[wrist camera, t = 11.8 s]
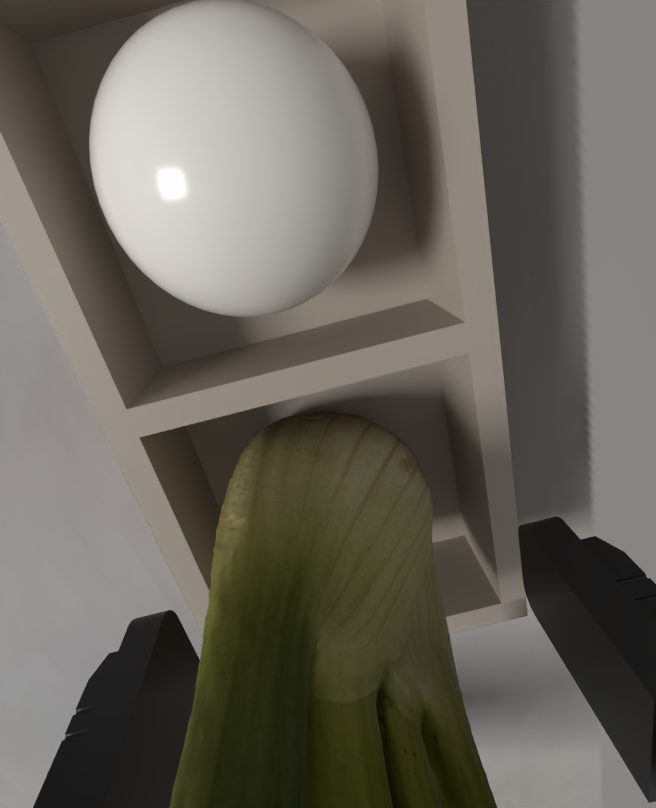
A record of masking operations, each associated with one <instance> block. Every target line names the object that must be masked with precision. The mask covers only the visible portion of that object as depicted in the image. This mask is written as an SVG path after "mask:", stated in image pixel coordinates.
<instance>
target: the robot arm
mask: <svg viewBox="0 0 656 808" xmlns="http://www.w3.org/2000/svg"><path fill="white" fill-rule="evenodd" d="M518 537H519V547H520V557H521V567H522V577H523V584H524V589H525V592H526V596H527V598H528V601H529V604H530V606H531V608H532V610H533V612H534V614H535V616H536V617H537V619H538V621H539V622H540V624H541V626H542V627H543V629H544V631H545V632H546V634H547V636H548V637H549V639H550V641H551V642H552V644H553V645H554V647H555V649H556V650H557V652H558V654H559V655H560V657H561V659H562V660H563V662H564V664H565V665H566V667H567V669H568V670H569V672H570V673H571V675H572V677H573V678H574V680H575V682H576V683H577V685H578V687H579V688H580V690H581V692H582V693H583V695H584V696H585V698H586V700H587V701H588V703H589V705H590V706H591V708H592V710H593V711H594V713H595V715H596V716H597V718H598V720H599V721H600V723H601V724H602V726H603V728H604V729H605V731H606V733H607V734H608V736H609V738H610V739H611V741H612V742H613V744H614V746H615V748H616V749H617V751H618V752H619V754H620V756H621V757H622V759H623V761H624V762H625V764H626V766H627V767H628V769H629V771H630V772H631V774H632V775H633V777H634V779H635V780H636V782H637V784H638V785H639V787H640V789H641V790H642V792H643V793H644V795H645V797H646V798H647V800H648V802H649V803H650V802H654V801H656V584H655V583H654V582H653V581H652V580H651V579H650V578H649V579H648V578H647V577H646V574H645V573H644V572H643V571H642V570H641V569H640V568H639V567H638V566H637V565H636V564H635V563H634V562H633V561H632V560H631V559H630V558H629V556H628V555H627V554H626V553H625V552H623V551H621V550H620V549H618V548H616V547H614V546H612V545H610V544H609V543H607V542H605V541H603V540H601V539H599V538H597V537H596V536H594V537H590V538H586V539H582V540H580V539H579V538H578V536H577V535H576V534H575V533H574V532H573V531H572V530H571V529H570V527H569V526H568V525H567V524H566V523H565V522H564V521H563V520H562V519H561V518H559V517H552V518H548V519H544V520H540V521H536V522H532V523H528V524H524V525H520V526H519V528H518ZM199 662H200V660H199V658H198V656H197V654H196V652H195V650H194V648H193V646H192V644H191V642H190V640H189V638H188V636H187V634H186V632H185V630H184V628H183V626H182V624H181V622H180V620H179V618H178V616H177V615H176V613H175V612H174V611H172V610H169V611H165V612H160V613H156V614H152V615H148V616H144V617H140V618H136V619H134V620H132V621H131V623H130V624H129V626H128V628H127V631H126V633H125V636H124V638H123V641H122V644H121V646H120V649H119V651H117V652H113V653H109V654H108V656H107V657H106V658H105V659H104V661H103V662H102V663H101V665H100V666H99V667H98V669H97V670H96V671H95V672H94V674H93V675H92V676H91V678H90V679H89V680H88V683H87V685H86V687H85V689H84V692H83V694H82V696H81V699H80V701H79V703H78V705H77V708H76V715H73V717H72V719H71V722H70V724H69V726H68V728H67V731H66V733H65V736H66V738H65V740H63V741H62V742H61V745H60V747H59V749H58V751H57V754H56V756H55V758H54V761H53V763H52V765H51V767H50V770H49V772H48V774H47V777H46V779H45V781H44V784H43V786H42V788H41V790H40V793H39V795H38V797H37V800H36V802H35V804H34V807H33V808H170V804H171V797H172V791H173V786H174V782H175V779H176V775H177V771H178V768H179V763H180V759H181V755H182V751H183V748H184V743H185V737H186V733H187V728H188V723H189V719H190V716H191V712H192V708H193V703H194V696H195V691H196V681H197V675H198V667H199Z"/></svg>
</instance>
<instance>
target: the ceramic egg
mask: <svg viewBox="0 0 656 808" xmlns="http://www.w3.org/2000/svg"><path fill="white" fill-rule="evenodd" d="M89 150H90V165H91V171H92V177H93V183H94V187H95V190H96V193H97V197H98V200H99V204H100V206H101V209H102V211H103V213H104V216H105V218H106V220H107V223H108V225H109V226H110V228H111V230H112V232H113V233H114V235H115V237H116V239H117V241H118V242H119V244H120V245H121V247H122V248H123V249H124V251H125V252H126V253H127V255H128V256H129V258H130V259H131V260H132V261H133V262H134V263H135V264H136V266H137V267H138V268H139V269H140V270H141V271H142V272H143V273H144V274H145V275H146V276H147V277H148V278H150V279H151V280H152V281H153V282H154V283H155V284H156V285H158V286H159V287H160V288H162V289H163V290H165V291H166V292H168V293H169V294H171V295H172V296H174V297H176V298H178V299H179V300H181V301H183V302H185V303H187V304H189V305H192V306H194V307H197V308H199V309H202V310H205V311H208V312H213V313H217V314H221V315H228V316H236V317H257V316H264V315H271V314H276V313H279V312H283V311H286V310H290V309H292V308H294V307H297V306H299V305H301V304H304V303H305V302H307V301H309V300H310V299H312V298H314V297H315V296H317V295H319V294H320V293H321V292H322V291H324V290H325V289H326V288H328V287H329V286H330V285H331V284H332V283H333V282H334V281H335V280H336V279H337V278H338V277H339V276H340V275H341V274H342V273H343V272H344V271H345V269H346V268H347V267H348V265H349V264H350V263H351V261H352V260H353V259H354V257H355V255H356V254H357V252H358V250H359V248H360V246H361V245H362V243H363V241H364V238H365V236H366V234H367V231H368V229H369V226H370V223H371V220H372V216H373V212H374V209H375V204H376V197H377V191H378V172H379V167H378V154H377V145H376V140H375V135H374V130H373V126H372V123H371V120H370V116H369V113H368V110H367V107H366V104H365V102H364V100H363V98H362V96H361V94H360V91H359V89H358V87H357V85H356V83H355V82H354V80H353V78H352V77H351V75H350V74H349V72H348V70H347V69H346V67H345V66H344V64H343V63H342V62H341V61H340V60H339V58H338V57H337V56H336V55H335V53H334V52H333V51H332V50H331V49H330V48H329V47H328V46H327V45H326V44H325V43H324V42H323V41H322V40H321V39H320V38H319V37H318V36H317V35H316V34H315V33H313V32H312V31H311V30H309V29H308V28H306V27H305V26H304V25H302V24H301V23H300V22H298V21H297V20H295V19H293V18H291V17H289V16H287V15H285V14H283V13H282V12H280V11H278V10H275V9H272V8H269V7H266V6H264V5H261V4H258V3H253V2H247V1H242V0H202V1H194V2H190V3H187V4H184V5H181V6H177V7H174V8H172V9H170V10H168V11H166V12H164V13H162V14H160V15H158V16H156V17H154V18H153V19H152V20H150V21H149V22H148V23H146V24H145V25H144V26H142V27H141V28H139V29H138V30H137V31H136V32H135V33H134V34H133V35H132V36H131V37H130V38H129V39H128V40H127V41H126V42H125V43H124V44H123V46H122V47H121V49H120V50H119V51H118V53H117V54H116V56H115V57H114V58H113V60H112V61H111V63H110V65H109V67H108V69H107V71H106V73H105V75H104V77H103V79H102V81H101V84H100V87H99V90H98V92H97V95H96V98H95V102H94V107H93V112H92V117H91V123H90V137H89Z"/></svg>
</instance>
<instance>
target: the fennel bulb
mask: <svg viewBox="0 0 656 808" xmlns="http://www.w3.org/2000/svg"><path fill="white" fill-rule="evenodd" d="M235 468H236V470H235V472H234V473H233V476H232V477H231V479H230V481H229V485H228V489H227V494H226V496H225V501H224V503H223V505H222V509H221V514H220V518H219V524H218V527H217V530H216V540H215V546H214V548H213V551H214V557H213V561H212V569H211V587H210V590H209V594H208V598H209V604H208V609H207V615H206V617H205V625H204V631H203V645H202V650H201V658H200V662H199V667H198V675H197V681H196V691H195V696H194V703H193V708H192V712H191V716H190V719H189V723H188V728H187V733H186V737H185V743H184V748H183V751H182V755H181V759H180V763H179V768H178V771H177V775H176V779H175V782H174V786H173V791H172V797H171V804H170V808H497V806H496V803H495V800H494V797H493V794H492V792H491V789H490V787H489V783H488V780H487V776H486V773H485V771H484V769H483V766H482V763H481V760H480V757H479V754H478V751H477V747H476V744H475V742H474V738H473V735H472V732H471V728H470V724H469V721H468V718H467V715H466V711H465V708H464V704H463V698H462V693H461V691H460V687H459V684H458V678H457V674H456V667H455V663H454V658H453V653H452V648H451V642H450V635H449V630H448V625H447V620H446V615H445V611H444V607H443V603H442V598H441V592H440V588H439V584H438V580H437V574H436V568H435V563H434V557H433V542H432V526H433V522H432V521H433V502H432V497H431V492H430V488H429V484H428V481H427V479H426V476H425V473H424V471H423V469H422V467H421V465H420V463H419V461H418V460H417V458H416V456H415V455H414V453H413V452H412V450H411V449H410V448H409V447H408V446H407V445H406V444H405V443H404V442H402V441H401V440H400V439H399V438H397V437H396V436H395V435H394V434H393V433H391V432H390V431H389V430H387V429H386V428H384V427H382V426H381V425H379V424H377V423H374V422H373V421H371V420H369V419H367V418H364V417H361V416H358V415H353V414H345V413H340V412H337V411H314V412H310V413H301V414H298V415H293V416H288V417H286V418H282V419H279V420H278V421H276V422H273V423H272V424H270V425H269V426H268V427H266V428H265V429H264V430H262V431H261V432H259V433H258V434H256V435H254V437H253V438H252V439H251V441H250V442H249V444H248V445H247V447H246V448H245V449H244V450H243V453H242V454H241V456H240V460H239V461H238V464H237V465H236V467H235Z"/></svg>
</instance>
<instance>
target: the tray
mask: <svg viewBox="0 0 656 808" xmlns="http://www.w3.org/2000/svg"><path fill="white" fill-rule="evenodd" d="M194 1H202V0H0V222H1V224H2V226H3V228H4V230H5V232H6V234H7V236H8V239H9V241H10V243H11V245H12V247H13V249H14V251H15V253H16V255H17V257H18V259H19V261H20V263H21V265H22V267H23V269H24V271H25V273H26V276H27V278H28V280H29V282H30V284H31V286H32V288H33V290H34V292H35V294H36V296H37V298H38V300H39V302H40V304H41V306H42V308H43V310H44V312H45V315H46V317H47V319H48V321H49V323H50V325H51V327H52V329H53V331H54V333H55V335H56V337H57V339H58V341H59V343H60V345H61V347H62V349H63V352H64V354H65V356H66V358H67V360H68V362H69V364H70V366H71V368H72V370H73V372H74V374H75V376H76V378H77V380H78V382H79V384H80V386H81V388H82V391H83V393H84V395H85V397H86V399H87V401H88V403H89V405H90V407H91V409H92V411H93V413H94V415H95V417H96V419H97V421H98V423H99V425H100V427H101V430H102V432H103V434H104V436H105V438H106V440H107V442H108V444H109V446H110V448H111V450H112V452H113V454H114V456H115V458H116V460H117V462H118V464H119V467H120V469H121V471H122V473H123V475H124V477H125V479H126V481H127V483H128V485H129V487H130V489H131V491H132V493H133V495H134V497H135V499H136V501H137V503H138V506H139V508H140V510H141V512H142V514H143V516H144V518H145V520H146V522H147V524H148V526H149V528H150V530H151V532H152V534H153V536H154V538H155V540H156V543H157V545H158V547H159V549H160V551H161V553H162V555H163V557H164V559H165V561H166V563H167V565H168V567H169V569H170V571H171V573H172V575H173V577H174V579H175V582H176V584H177V586H178V588H179V590H180V592H181V594H182V596H183V598H184V600H185V602H186V604H187V606H188V608H189V610H190V612H191V614H192V616H193V619H194V621H195V623H196V625H197V627H198V629H199V631H200V633H201V635H202V637H203V631H204V625H205V617H206V615H207V609H208V604H209V598H208V594H209V590H210V587H211V569H212V561H213V557H214V551H213V548H214V546H215V540H216V530H217V527H218V524H219V518H220V514H221V509H222V505H223V503H224V501H225V496H226V494H227V489H228V485H229V481H230V479H231V477H232V476H233V473H234V472H235V470H236V468H235V467H236V465H237V464H238V461H239V460H240V456H241V454H242V453H243V450H244V449H245V448H246V447H247V445H248V444H249V442H250V441H251V439H252V438H253V437H254V435H256V434H258V433H259V432H261V431H262V430H264V429H265V428H266V427H268V426H269V425H270V424H272V423H273V422H276V421H278V420H279V419H282V418H286V417H288V416H293V415H298V414H301V413H310V412H314V411H337V412H340V413H345V414H353V415H358V416H361V417H364V418H367V419H369V420H371V421H373V422H374V423H377V424H379V425H381V426H382V427H384V428H386V429H387V430H389V431H390V432H391V433H393V434H394V435H395V436H396V437H397V438H399V439H400V440H401V441H402V442H404V443H405V444H406V445H407V446H408V447H409V448H410V449H411V450H412V452H413V453H414V455H415V456H416V458H417V460H418V461H419V463H420V465H421V467H422V469H423V471H424V473H425V476H426V479H427V481H428V484H429V488H430V492H431V497H432V502H433V521H432V522H433V526H432V542H433V557H434V563H435V568H436V574H437V580H438V584H439V588H440V592H441V598H442V603H443V607H444V611H445V615H446V620H447V625H448V630H449V634H453V633H457V632H461V631H466V630H470V629H474V628H478V627H482V626H486V625H491V624H495V623H499V622H503V621H507V620H511V619H516V618H520V617H524V616H528V615H527V605H526V595H525V589H524V584H523V577H522V567H521V557H520V547H519V537H518V528H519V525H518V515H517V505H516V495H515V485H514V475H513V465H512V455H511V445H510V435H509V425H508V415H507V405H506V395H505V385H504V375H503V365H502V355H501V345H500V335H499V325H498V315H497V305H496V295H495V285H494V275H493V265H492V255H491V245H490V235H489V225H488V215H487V206H486V196H485V186H484V176H483V166H482V156H481V146H480V136H479V126H478V116H477V106H476V96H475V86H474V76H473V66H472V56H471V46H470V36H469V26H468V16H467V6H466V0H242V1H247V2H253V3H258V4H261V5H264V6H266V7H269V8H272V9H275V10H278V11H280V12H282V13H283V14H285V15H287V16H289V17H291V18H293V19H295V20H297V21H298V22H300V23H301V24H302V25H304V26H305V27H306V28H308V29H309V30H311V31H312V32H313V33H315V34H316V35H317V36H318V37H319V38H320V39H321V40H322V41H323V42H324V43H325V44H326V45H327V46H328V47H329V48H330V49H331V50H332V51H333V52H334V53H335V55H336V56H337V57H338V58H339V60H340V61H341V62H342V63H343V64H344V66H345V67H346V69H347V70H348V72H349V74H350V75H351V77H352V78H353V80H354V82H355V83H356V85H357V87H358V89H359V91H360V94H361V96H362V98H363V100H364V102H365V104H366V107H367V110H368V113H369V116H370V120H371V123H372V126H373V130H374V135H375V140H376V145H377V154H378V167H379V172H378V191H377V197H376V204H375V209H374V212H373V216H372V220H371V223H370V226H369V229H368V231H367V234H366V236H365V238H364V241H363V243H362V245H361V246H360V248H359V250H358V252H357V254H356V255H355V257H354V259H353V260H352V261H351V263H350V264H349V265H348V267H347V268H346V269H345V271H344V272H343V273H342V274H341V275H340V276H339V277H338V278H337V279H336V280H335V281H334V282H333V283H332V284H331V285H330V286H329V287H328V288H326V289H325V290H324V291H322V292H321V293H320V294H319V295H317V296H315V297H314V298H312V299H310V300H309V301H307V302H305V303H304V304H301V305H299V306H297V307H294V308H292V309H290V310H286V311H283V312H279V313H276V314H271V315H264V316H257V317H236V316H228V315H221V314H217V313H213V312H208V311H205V310H202V309H199V308H197V307H194V306H192V305H189V304H187V303H185V302H183V301H181V300H179V299H178V298H176V297H174V296H172V295H171V294H169V293H168V292H166V291H165V290H163V289H162V288H160V287H159V286H158V285H156V284H155V283H154V282H153V281H152V280H151V279H150V278H148V277H147V276H146V275H145V274H144V273H143V272H142V271H141V270H140V269H139V268H138V267H137V266H136V264H135V263H134V262H133V261H132V260H131V259H130V258H129V256H128V255H127V253H126V252H125V251H124V249H123V248H122V247H121V245H120V244H119V242H118V241H117V239H116V237H115V235H114V233H113V232H112V230H111V228H110V226H109V225H108V223H107V220H106V218H105V216H104V213H103V211H102V209H101V206H100V204H99V200H98V197H97V193H96V190H95V187H94V183H93V177H92V171H91V165H90V150H89V137H90V123H91V117H92V112H93V107H94V102H95V98H96V95H97V92H98V90H99V87H100V84H101V81H102V79H103V77H104V75H105V73H106V71H107V69H108V67H109V65H110V63H111V61H112V60H113V58H114V57H115V56H116V54H117V53H118V51H119V50H120V49H121V47H122V46H123V44H124V43H125V42H126V41H127V40H128V39H129V38H130V37H131V36H132V35H133V34H134V33H135V32H136V31H137V30H138V29H139V28H141V27H142V26H144V25H145V24H146V23H148V22H149V21H150V20H152V19H153V18H154V17H156V16H158V15H160V14H162V13H164V12H166V11H168V10H170V9H172V8H174V7H177V6H181V5H184V4H187V3H190V2H194Z"/></svg>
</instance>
